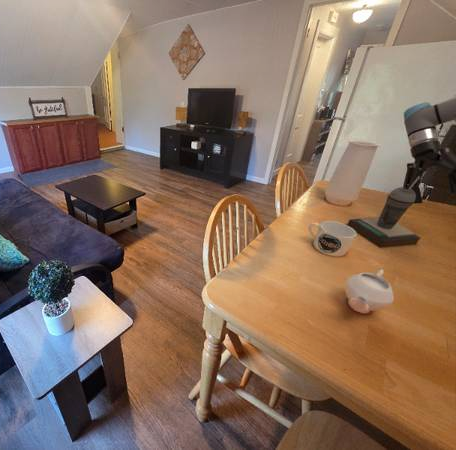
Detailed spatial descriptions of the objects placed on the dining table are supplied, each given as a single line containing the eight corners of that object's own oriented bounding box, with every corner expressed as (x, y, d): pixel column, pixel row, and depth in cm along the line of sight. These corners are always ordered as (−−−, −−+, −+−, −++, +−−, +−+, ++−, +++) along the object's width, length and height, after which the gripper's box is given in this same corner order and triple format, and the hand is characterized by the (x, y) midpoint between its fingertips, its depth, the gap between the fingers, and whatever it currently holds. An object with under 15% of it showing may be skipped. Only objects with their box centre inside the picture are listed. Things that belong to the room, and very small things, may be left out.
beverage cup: (375, 219, 96) (402, 170, 86) (398, 226, 92) (431, 176, 81) (369, 225, 92) (398, 175, 82) (394, 233, 88) (427, 181, 77)
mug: (346, 245, 88) (356, 226, 83) (346, 261, 80) (357, 241, 76) (305, 233, 94) (312, 215, 90) (301, 247, 87) (308, 228, 82)
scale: (416, 244, 89) (422, 235, 87) (380, 247, 87) (385, 239, 85) (378, 222, 101) (383, 215, 99) (346, 225, 99) (350, 217, 97)
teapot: (390, 298, 67) (409, 273, 62) (367, 340, 57) (387, 314, 52) (351, 279, 74) (365, 255, 69) (323, 313, 63) (337, 288, 58)
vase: (349, 210, 110) (380, 147, 96) (318, 200, 118) (342, 141, 103) (356, 201, 118) (386, 142, 103) (326, 193, 126) (350, 137, 111)
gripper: (385, 159, 105) (395, 207, 101) (449, 126, 80) (464, 187, 77) (404, 158, 104) (414, 206, 101) (474, 124, 80) (491, 186, 76)
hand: (436, 198), depth 89 cm, fingers open, 13 cm apart
